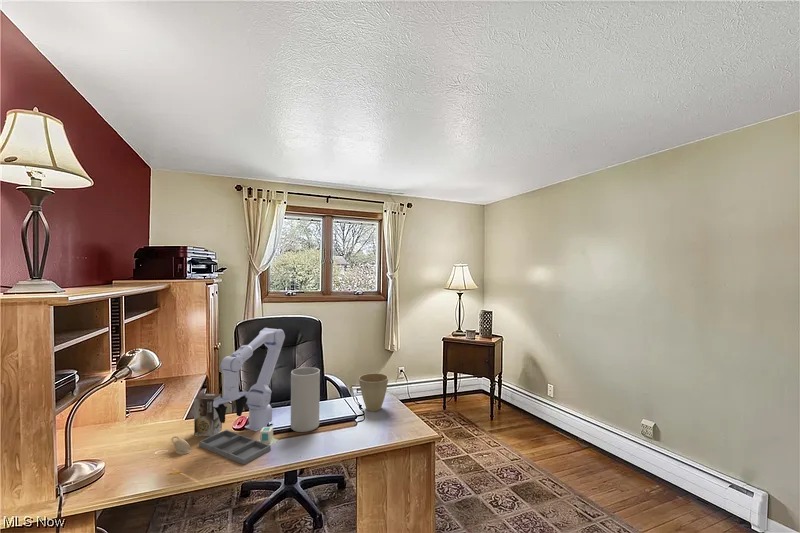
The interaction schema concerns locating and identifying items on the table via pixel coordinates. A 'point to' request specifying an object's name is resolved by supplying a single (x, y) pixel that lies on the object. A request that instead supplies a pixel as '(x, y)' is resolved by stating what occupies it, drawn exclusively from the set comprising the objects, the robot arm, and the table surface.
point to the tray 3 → (249, 452)
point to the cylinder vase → (305, 399)
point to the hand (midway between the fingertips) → (230, 418)
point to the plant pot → (373, 390)
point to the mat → (272, 441)
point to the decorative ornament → (181, 446)
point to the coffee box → (206, 415)
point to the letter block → (266, 435)
